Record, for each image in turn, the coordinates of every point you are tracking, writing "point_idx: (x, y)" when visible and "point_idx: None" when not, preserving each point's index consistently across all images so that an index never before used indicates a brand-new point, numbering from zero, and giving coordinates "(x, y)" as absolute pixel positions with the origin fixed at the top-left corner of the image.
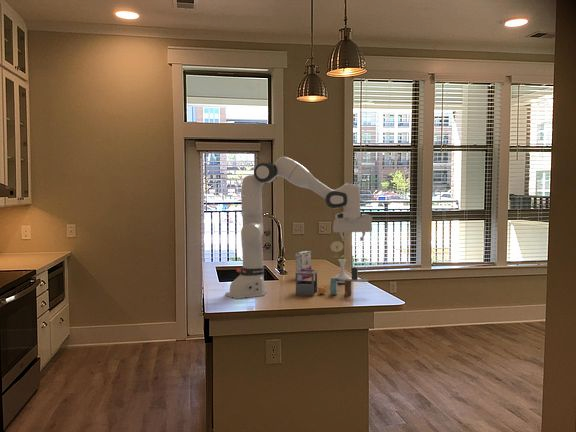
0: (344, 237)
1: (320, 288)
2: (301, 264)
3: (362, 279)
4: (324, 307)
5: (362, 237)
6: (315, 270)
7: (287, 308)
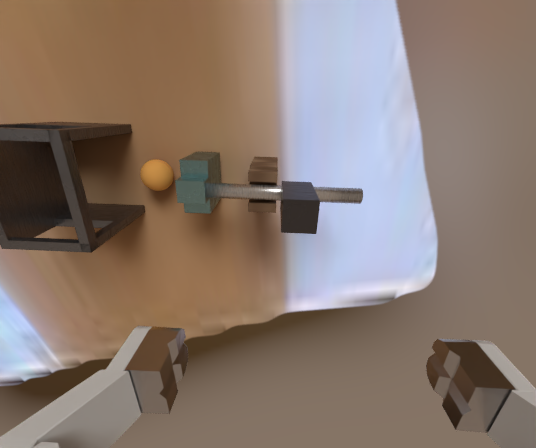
0: (156, 398)
1: (150, 188)
2: None
3: (333, 201)
4: (215, 332)
5: (497, 432)
6: (59, 155)
7: None
